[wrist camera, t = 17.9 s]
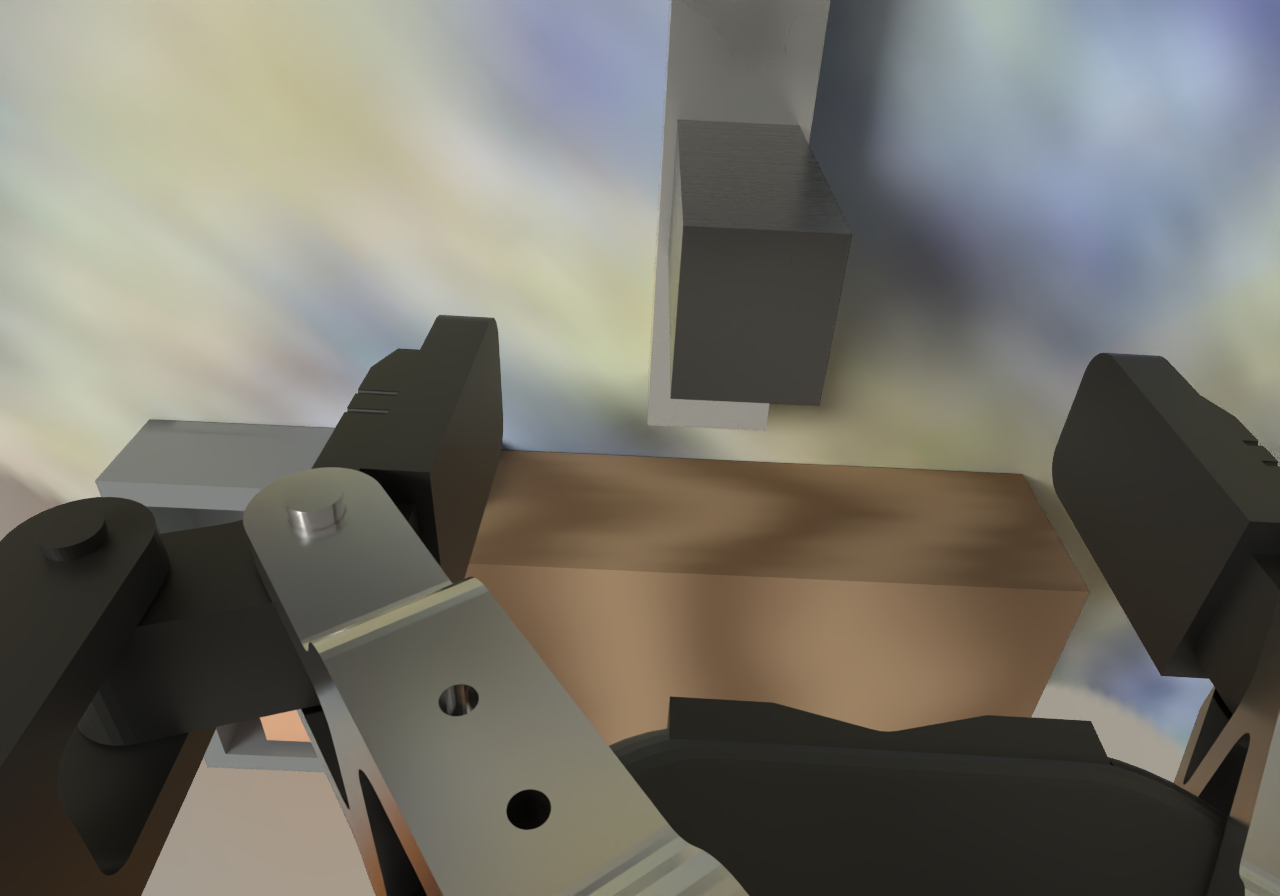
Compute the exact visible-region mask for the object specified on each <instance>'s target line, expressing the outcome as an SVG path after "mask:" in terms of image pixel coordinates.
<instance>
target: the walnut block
mask: <svg viewBox="0 0 1280 896" xmlns="http://www.w3.org/2000/svg"><path fill="white" fill-rule="evenodd" d="M468 577H475V578H476V579H478V580H479V581H480V582H482V583H483V584H484V585H485V587H486V588H487V589H488V590H489V591H490V593H491V594H492V595H493V597H494V598H495V599H496V600H497V602H498V603H499V604H500V606H501V607H502V608H503V610H504V611H505V612H506V613H507V615H508V616H509V617H510V619H511V620H512V621H513V623H514V624H515V625H516V626H517V628H518V629H519V630H520V632H521V633H522V634H523V635H524V637H525V638H526V639H527V641H528V642H529V643H530V645H531V646H532V647H533V648H534V650H535V651H536V652H537V654H538V655H539V656H540V658H541V659H542V660H543V661H544V663H545V664H546V665H547V667H548V668H549V669H550V671H551V672H552V673H553V674H554V676H555V677H556V678H557V680H558V681H559V682H560V684H561V685H562V686H563V687H564V689H565V690H566V691H567V693H568V694H569V695H570V697H571V698H572V699H573V700H574V702H575V703H576V704H577V706H578V707H579V708H580V710H581V711H582V712H583V713H584V715H585V716H586V717H587V719H588V720H589V721H590V723H591V724H592V725H593V726H594V728H595V729H596V730H597V732H598V733H599V734H600V736H601V737H602V738H603V739H604V741H605V742H606V743H607V745H608V746H610V745H612V744H614V743H617V742H619V741H621V740H623V739H626V738H630V737H633V736H636V735H640V734H643V733H646V732H651V731H656V730H661V729H667V722H668V712H669V701H670V696H671V697H688V698H705V699H722V700H739V701H756V702H773V703H777V704H780V705H784V706H788V707H792V708H795V709H799V710H803V711H806V712H810V713H814V714H818V715H821V716H825V717H829V718H832V719H836V720H840V721H843V722H847V723H851V724H855V725H858V726H862V727H866V728H869V729H873V730H878V731H887V732H890V731H899V730H905V729H910V728H916V727H922V726H927V725H933V724H939V723H945V722H950V721H956V720H962V719H967V718H973V717H979V716H985V715H995V716H1012V717H1029V718H1031V716H1032V714H1033V712H1034V710H1035V708H1036V706H1037V703H1038V701H1039V699H1040V697H1041V695H1042V693H1043V691H1044V689H1045V686H1046V684H1047V682H1048V680H1049V678H1050V676H1051V674H1052V671H1053V669H1054V667H1055V665H1056V663H1057V661H1058V659H1059V656H1060V654H1061V652H1062V650H1063V648H1064V646H1065V644H1066V642H1067V639H1068V637H1069V635H1070V633H1071V631H1072V629H1073V627H1074V624H1075V622H1076V620H1077V618H1078V616H1079V614H1080V612H1081V609H1082V607H1083V605H1084V603H1085V601H1086V599H1087V597H1088V595H1089V590H1088V588H1087V586H1086V585H1085V583H1084V581H1083V579H1082V578H1081V576H1080V574H1079V572H1078V571H1077V569H1076V567H1075V565H1074V564H1073V562H1072V560H1071V558H1070V557H1069V555H1068V553H1067V551H1066V550H1065V548H1064V546H1063V544H1062V543H1061V541H1060V539H1059V537H1058V536H1057V534H1056V532H1055V531H1054V529H1053V527H1052V525H1051V524H1050V522H1049V520H1048V518H1047V517H1046V515H1045V513H1044V511H1043V510H1042V508H1041V506H1040V504H1039V503H1038V501H1037V499H1036V497H1035V496H1034V494H1033V492H1032V490H1031V489H1030V487H1029V485H1028V483H1027V482H1026V480H1025V478H1024V476H1023V475H1022V474H1003V473H981V472H960V471H939V470H918V469H896V468H875V467H854V466H832V465H811V464H790V463H768V462H747V461H726V460H705V459H683V458H662V457H641V456H619V455H598V454H577V453H556V452H534V451H513V450H501V454H500V459H499V463H498V466H497V470H496V473H495V477H494V480H493V483H492V487H491V490H490V494H489V497H488V500H487V504H486V507H485V511H484V514H483V517H482V521H481V524H480V528H479V531H478V534H477V538H476V541H475V545H474V548H473V551H472V555H471V558H470V562H469V565H468V568H467V572H466V575H465V578H468ZM465 578H464V579H465Z"/></svg>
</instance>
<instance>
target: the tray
mask: <svg viewBox="0 0 1280 896" xmlns="http://www.w3.org/2000/svg"><path fill="white" fill-rule="evenodd" d="M334 429H335V428H318V427H296V426H275V425H254V424H233V423H211V422H190V421H169V420H149V421H148V422H147V423H146V424H145V425H144V426H143V427H142V429H141V430H140V431H139V432H138V433H137V434H136V435H135V436H134V438H133V439H132V440H131V441H130V442H129V443H128V444H127V445H126V447H125V448H124V449H123V450H122V451H121V452H120V453H119V455H118V456H117V457H116V458H115V459H114V460H113V461H112V462H111V464H110V465H109V466H108V467H107V468H106V469H105V470H104V471H103V473H102V474H101V475H100V476H99V477H98V478H97V479H96V480H95V482H96V484H97V487H98V489H99V492H100V495H101V497H118V498H125V499H130V500H133V501H136V502H139V503H141V504H143V505H144V506H146V507H147V508H148V509H149V510H150V511H151V512H152V513H153V516H154V518H155V520H156V523H157V526H158V529H159V532H160V534H162V533H169V532H175V531H182V530H188V529H195V528H201V527H208V526H214V525H221V524H226V523H231V522H236V521H239V520H243V516H244V512H245V509H246V507H247V506H248V504H249V502H250V501H251V500H252V499H253V497H254V496H255V495H256V494H257V493H258V492H260V491H261V490H262V489H263V488H265V487H266V486H268V485H269V484H271V483H272V482H274V481H276V480H278V479H280V478H283V477H285V476H288V475H290V474H293V473H296V472H300V471H304V470H309V469H311V468H312V467H313V465H314V463H315V462H316V460H317V458H318V456H319V455H320V453H321V451H322V450H323V448H324V446H325V445H326V443H327V441H328V440H329V438H330V436H331V434H332V433H333V431H334ZM204 759H205V762H206V764H207V767H214V768H236V769H259V770H283V771H305V772H324V770H323V767H322V765H321V763H320V761H319V759H318V756H317V754H316V752H315V750H314V748H313V746H312V743H311V742H300V741H278V740H267V738H266V735H265V732H264V729H263V726H262V723H261V720H260V718H256V719H251V720H246V721H242V722H237V723H232V724H227V725H223V726H218V727H217V728H216V730H215V733H214V735H213V737H212V739H211V741H210V744H209V746H208V748H207V750H206V753H205V755H204Z"/></svg>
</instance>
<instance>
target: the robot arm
mask: <svg viewBox="0 0 1280 896" xmlns="http://www.w3.org/2000/svg"><path fill="white" fill-rule="evenodd" d="M347 408H348V411H347V412H344V414H343V416H342V418H341V419H340V421H339V423H338V424H337V426H336V428H335V429H334V431H333V433H332V434H331V436H330V438H329V440H328V441H327V443H326V445H325V446H324V448H323V450H322V451H321V453H320V455H319V456H318V458H317V460H316V462H315V463H314V465H313V467H312V468H311V469H309V470H304V471H300V472H296V473H293V474H290V475H288V476H285V477H283V478H280V479H278V480H276V481H274V482H272V483H271V484H269V485H268V486H266V487H265V488H263V489H262V490H261V491H260V492H258V493H257V494H256V495H255V496H254V497H253V499H252V500H251V501H250V502H249V504H248V506H247V507H246V509H245V512H244V516H243V520H239V521H236V522H231V523H226V524H221V525H214V526H208V527H201V528H195V529H188V530H182V531H175V532H169V533H162V534H160V532H159V529H158V526H157V523H156V520H155V518H154V516H153V513H152V512H151V511H150V510H149V509H148V508H147V507H146V506H144V505H143V504H141V503H139V502H136V501H133V500H130V499H125V498H118V497H96V498H88V499H82V500H77V501H73V502H69V503H65V504H62V505H59V506H56V507H53V508H51V509H48V510H46V511H43V512H41V513H39V514H37V515H35V516H33V517H31V518H29V519H28V520H26V521H25V522H23V523H21V524H20V525H18V526H17V527H16V528H14V529H13V530H12V531H11V532H9V533H8V534H7V535H6V536H5V537H4V538H3V539H2V540H1V541H0V896H141V895H142V892H143V890H144V888H145V886H146V884H147V881H148V879H149V877H150V875H151V872H152V870H153V868H154V866H155V863H156V861H157V859H158V857H159V855H160V852H161V850H162V848H163V846H164V843H165V841H166V839H167V837H168V835H169V832H170V830H171V828H172V826H173V824H174V821H175V819H176V817H177V815H178V812H179V810H180V808H181V806H182V803H183V801H184V799H185V797H186V795H187V792H188V790H189V788H190V786H191V784H192V781H193V779H194V777H195V775H196V772H197V770H198V768H199V766H200V763H201V761H202V759H203V757H204V755H205V753H206V750H207V748H208V746H209V744H210V741H211V739H212V737H213V735H214V733H215V730H216V728H217V727H218V726H223V725H227V724H232V723H237V722H242V721H246V720H251V719H256V718H260V717H265V716H270V715H275V714H279V713H284V712H289V711H293V710H297V713H298V715H299V717H300V719H301V721H302V724H303V726H304V728H305V730H306V732H307V735H308V737H309V739H310V741H311V743H312V746H313V748H314V750H315V752H316V754H317V756H318V759H319V761H320V763H321V765H322V767H323V770H324V772H325V774H326V776H327V778H328V781H329V783H330V785H331V787H332V789H333V792H334V794H335V796H336V798H337V800H338V802H339V805H340V807H341V809H342V811H343V813H344V816H345V818H346V820H347V822H348V824H349V827H350V829H351V831H352V834H353V836H354V838H355V841H356V843H357V846H358V848H359V851H360V854H361V856H362V859H363V862H364V865H365V868H366V871H367V874H368V877H369V879H370V882H371V885H372V887H373V890H374V893H375V895H376V896H1280V466H1278V465H1277V463H1278V461H1277V460H1276V459H1275V458H1274V457H1273V456H1272V455H1271V454H1270V452H1269V451H1268V450H1267V449H1266V448H1265V447H1264V446H1258V440H1257V439H1256V438H1255V437H1254V436H1253V435H1252V434H1251V433H1250V432H1249V431H1248V430H1247V429H1246V428H1245V427H1244V426H1243V424H1242V423H1241V422H1240V421H1239V420H1238V419H1237V418H1236V417H1235V416H1233V415H1231V414H1230V413H1228V412H1227V411H1225V410H1223V409H1222V408H1220V407H1218V406H1217V405H1215V404H1213V403H1212V402H1210V401H1209V400H1207V399H1205V398H1204V397H1202V396H1200V395H1199V394H1198V393H1197V392H1196V390H1195V389H1194V388H1193V387H1192V386H1191V385H1190V384H1189V383H1188V382H1187V381H1186V380H1185V379H1184V378H1183V377H1182V376H1181V374H1180V373H1179V372H1178V371H1177V370H1176V369H1175V368H1174V367H1173V366H1172V365H1171V364H1170V363H1169V362H1168V361H1167V360H1166V359H1165V358H1163V357H1161V356H1151V355H1133V354H1115V353H1100V354H1098V355H1096V356H1095V357H1094V358H1093V359H1092V360H1091V362H1090V363H1089V365H1088V366H1087V369H1086V371H1085V373H1084V376H1083V378H1082V381H1081V384H1080V386H1079V389H1078V391H1077V394H1076V397H1075V399H1074V402H1073V404H1072V407H1071V410H1070V412H1069V415H1068V417H1067V420H1066V423H1065V425H1064V428H1063V430H1062V433H1061V436H1060V438H1059V441H1058V443H1057V446H1056V449H1055V452H1054V457H1053V463H1052V477H1053V484H1054V488H1055V491H1056V493H1057V495H1058V497H1059V499H1060V501H1061V502H1062V504H1063V506H1064V508H1065V509H1066V511H1067V513H1068V515H1069V516H1070V518H1071V520H1072V522H1073V523H1074V525H1075V527H1076V529H1077V530H1078V532H1079V534H1080V535H1081V537H1082V539H1083V541H1084V542H1085V544H1086V546H1087V548H1088V549H1089V551H1090V553H1091V555H1092V556H1093V558H1094V560H1095V562H1096V563H1097V565H1098V567H1099V568H1100V570H1101V572H1102V574H1103V575H1104V577H1105V579H1106V581H1107V582H1108V584H1109V586H1110V588H1111V589H1112V591H1113V593H1114V595H1115V596H1116V598H1117V600H1118V601H1119V603H1120V605H1121V607H1122V608H1123V610H1124V612H1125V614H1126V615H1127V617H1128V619H1129V621H1130V622H1131V624H1132V626H1133V628H1134V629H1135V631H1136V633H1137V634H1138V636H1139V638H1140V640H1141V641H1142V643H1143V645H1144V647H1145V648H1146V650H1147V652H1148V654H1149V655H1150V657H1151V659H1152V661H1153V662H1154V664H1155V666H1156V667H1157V669H1158V671H1159V673H1160V674H1161V676H1174V677H1191V678H1209V679H1210V680H1211V682H1212V683H1213V685H1214V687H1213V688H1212V690H1211V691H1210V693H1209V695H1208V696H1207V698H1206V699H1205V701H1204V702H1203V704H1202V706H1201V708H1200V710H1199V713H1198V716H1197V719H1196V722H1195V724H1194V727H1193V730H1192V733H1191V736H1190V739H1189V741H1188V744H1187V747H1186V750H1185V753H1184V755H1183V758H1182V761H1181V764H1180V767H1179V770H1178V773H1177V775H1176V778H1175V781H1174V783H1172V782H1170V781H1168V780H1166V779H1163V778H1161V777H1159V776H1157V775H1155V774H1153V773H1151V772H1148V771H1146V770H1144V769H1141V768H1138V767H1136V766H1133V765H1130V764H1128V763H1124V762H1122V761H1119V760H1116V759H1113V758H1109V757H1107V755H1106V753H1105V750H1104V748H1103V746H1102V744H1101V742H1100V740H1099V738H1098V735H1097V734H1096V731H1095V729H1094V727H1093V725H1092V723H1091V721H1080V720H1063V719H1045V718H1029V717H1012V716H995V715H985V716H979V717H973V718H967V719H962V720H956V721H950V722H945V723H939V724H933V725H927V726H922V727H916V728H910V729H905V730H899V731H890V732H887V731H878V730H873V729H869V728H866V727H862V726H858V725H855V724H851V723H847V722H843V721H840V720H836V719H832V718H829V717H825V716H821V715H818V714H814V713H810V712H806V711H803V710H799V709H795V708H792V707H788V706H784V705H780V704H777V703H773V702H756V701H739V700H722V699H705V698H688V697H671V696H670V701H669V712H668V722H667V729H661V730H656V731H651V732H646V733H643V734H640V735H636V736H633V737H630V738H626V739H623V740H621V741H619V742H617V743H614V744H612V745H610V746H608V745H607V743H606V742H605V741H604V739H603V738H602V737H601V736H600V734H599V733H598V732H597V730H596V729H595V728H594V726H593V725H592V724H591V723H590V721H589V720H588V719H587V717H586V716H585V715H584V713H583V712H582V711H581V710H580V708H579V707H578V706H577V704H576V703H575V702H574V700H573V699H572V698H571V697H570V695H569V694H568V693H567V691H566V690H565V689H564V687H563V686H562V685H561V684H560V682H559V681H558V680H557V678H556V677H555V676H554V674H553V673H552V672H551V671H550V669H549V668H548V667H547V665H546V664H545V663H544V661H543V660H542V659H541V658H540V656H539V655H538V654H537V652H536V651H535V650H534V648H533V647H532V646H531V645H530V643H529V642H528V641H527V639H526V638H525V637H524V635H523V634H522V633H521V632H520V630H519V629H518V628H517V626H516V625H515V624H514V623H513V621H512V620H511V619H510V617H509V616H508V615H507V613H506V612H505V611H504V610H503V608H502V607H501V606H500V604H499V603H498V602H497V600H496V599H495V598H494V597H493V595H492V594H491V593H490V591H489V590H488V589H487V588H486V587H485V585H484V584H483V583H482V582H480V581H479V580H478V579H476V578H475V577H468V578H465V575H466V572H467V568H468V565H469V562H470V558H471V555H472V551H473V548H474V545H475V541H476V538H477V534H478V531H479V528H480V524H481V521H482V517H483V514H484V511H485V507H486V504H487V500H488V497H489V494H490V490H491V487H492V483H493V480H494V477H495V473H496V470H497V466H498V463H499V459H500V454H501V448H502V438H503V408H502V391H501V374H500V357H499V339H498V329H497V324H496V321H495V319H494V318H486V317H468V316H449V315H439V316H438V317H437V318H436V320H435V322H434V324H433V326H432V328H431V330H430V332H429V334H428V336H427V338H426V339H425V341H424V343H423V345H422V347H421V349H420V350H415V349H397V350H395V351H394V352H393V353H391V354H390V355H388V356H387V357H385V358H384V359H382V360H381V361H379V362H378V363H376V364H375V365H374V366H372V367H371V368H370V370H369V372H368V374H367V375H366V377H365V379H364V380H363V382H362V384H361V385H360V387H359V389H358V394H355V396H354V397H353V399H352V401H351V402H350V404H349V406H348V407H347ZM464 578H465V579H464Z"/></svg>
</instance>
